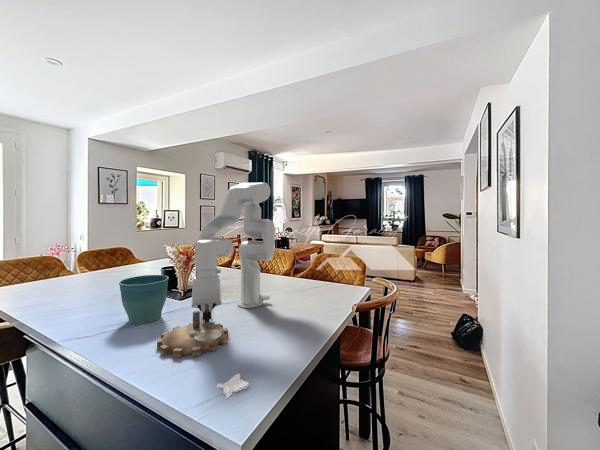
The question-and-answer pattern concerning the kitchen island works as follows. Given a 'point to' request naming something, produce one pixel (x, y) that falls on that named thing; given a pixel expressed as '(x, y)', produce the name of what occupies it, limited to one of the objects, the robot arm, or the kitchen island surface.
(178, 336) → the sprocket wheel
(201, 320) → the beer glass
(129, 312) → the flower pot
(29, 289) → the kitchen island surface
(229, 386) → the acanthus leaf ornament
